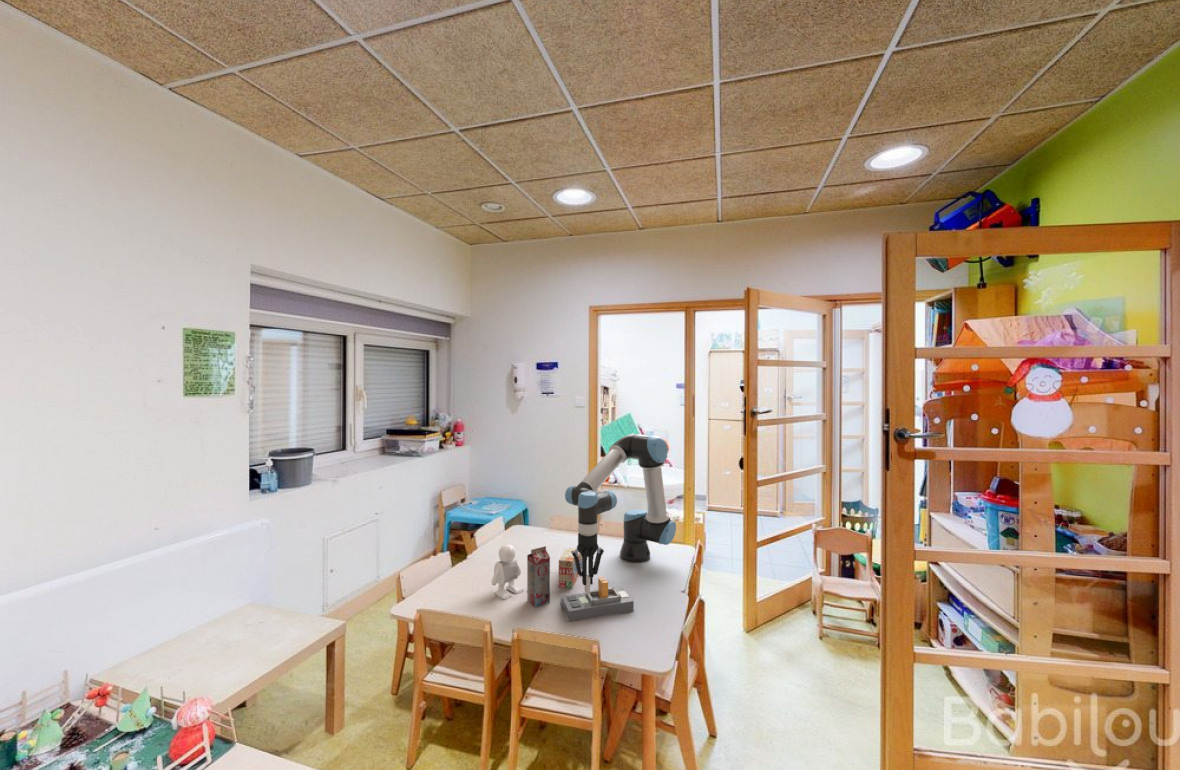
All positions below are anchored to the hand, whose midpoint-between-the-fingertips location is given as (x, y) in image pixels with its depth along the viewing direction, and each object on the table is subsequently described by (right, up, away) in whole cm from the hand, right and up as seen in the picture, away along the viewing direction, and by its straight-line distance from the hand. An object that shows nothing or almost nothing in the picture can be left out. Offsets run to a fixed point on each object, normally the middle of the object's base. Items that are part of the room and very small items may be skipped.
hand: (587, 592), depth 177 cm
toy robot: (-34, -7, +15) cm, 38 cm away
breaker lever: (+6, -3, +2) cm, 7 cm away
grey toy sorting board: (+4, -7, +1) cm, 8 cm away
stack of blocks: (-8, -7, +29) cm, 30 cm away
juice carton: (-20, -7, +7) cm, 22 cm away
